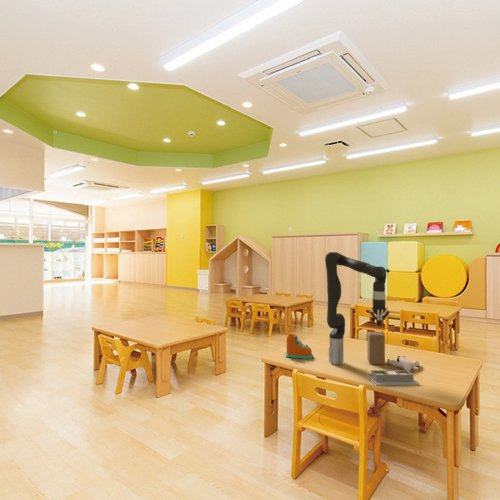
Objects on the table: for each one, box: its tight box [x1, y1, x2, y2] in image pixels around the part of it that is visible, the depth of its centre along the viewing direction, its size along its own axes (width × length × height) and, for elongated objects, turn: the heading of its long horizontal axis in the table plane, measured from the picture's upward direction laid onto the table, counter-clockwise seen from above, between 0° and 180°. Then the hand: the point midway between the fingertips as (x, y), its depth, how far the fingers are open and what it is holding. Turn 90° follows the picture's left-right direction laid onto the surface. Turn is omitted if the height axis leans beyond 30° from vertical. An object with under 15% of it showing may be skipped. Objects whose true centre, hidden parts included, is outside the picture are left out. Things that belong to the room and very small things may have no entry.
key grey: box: [386, 371, 397, 375], centre depth 199 cm, size 5×5×2 cm
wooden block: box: [366, 331, 386, 366], centre depth 231 cm, size 10×10×20 cm
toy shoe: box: [285, 333, 314, 360], centre depth 245 cm, size 12×20×15 cm, turn 74°
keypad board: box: [366, 369, 419, 387], centre depth 199 cm, size 24×14×5 cm, turn 91°
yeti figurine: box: [386, 355, 420, 373], centre depth 222 cm, size 20×7×20 cm
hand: (379, 325), depth 213 cm, fingers closed
